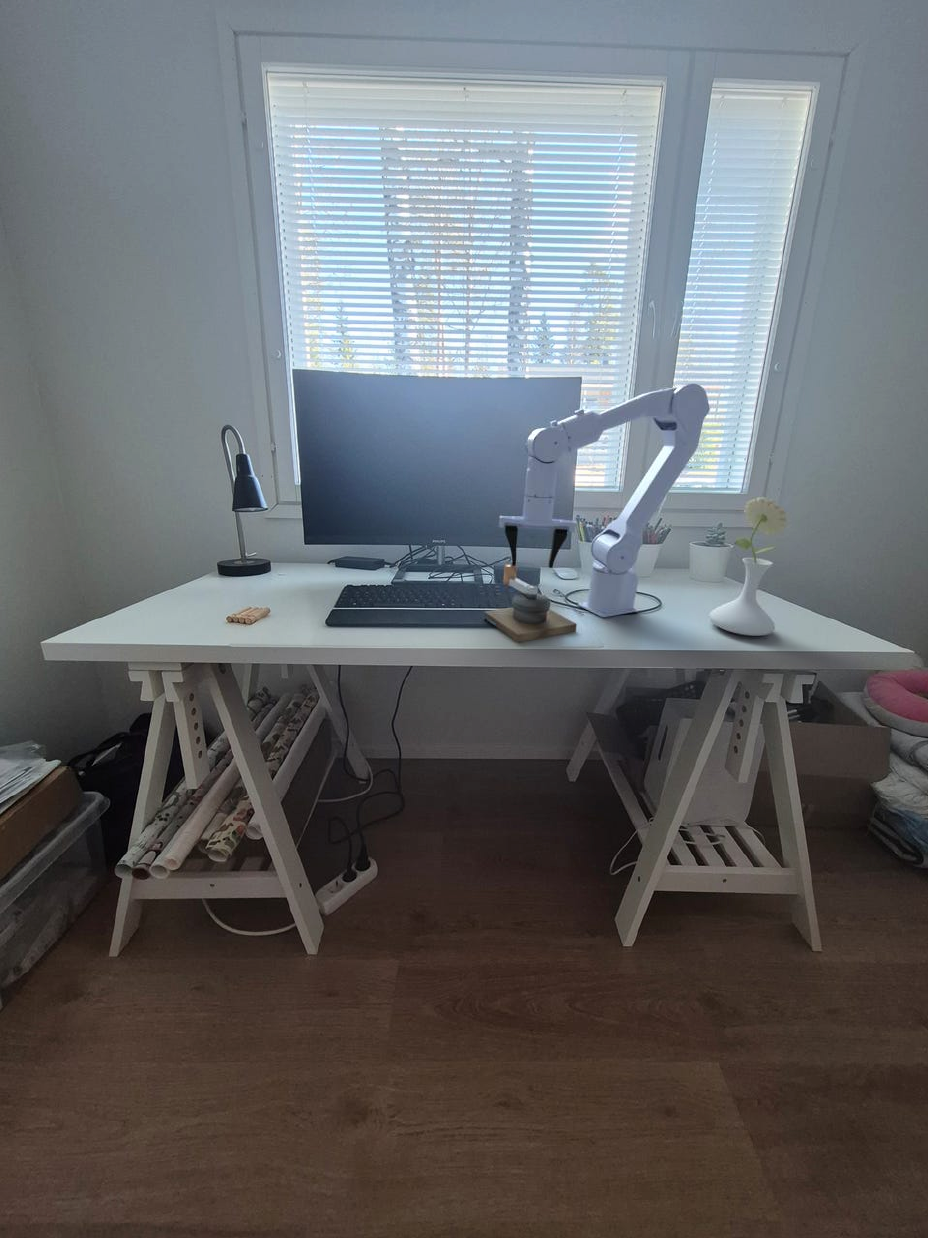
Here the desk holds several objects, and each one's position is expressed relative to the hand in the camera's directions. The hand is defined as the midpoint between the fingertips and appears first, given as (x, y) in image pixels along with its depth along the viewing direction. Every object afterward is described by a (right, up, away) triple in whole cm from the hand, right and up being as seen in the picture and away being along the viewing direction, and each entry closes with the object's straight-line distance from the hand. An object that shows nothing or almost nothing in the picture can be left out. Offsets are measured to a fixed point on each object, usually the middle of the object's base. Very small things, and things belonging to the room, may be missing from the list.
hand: (532, 565), depth 94 cm
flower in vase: (+40, -13, -1) cm, 42 cm away
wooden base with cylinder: (-1, -12, -4) cm, 13 cm away
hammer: (-3, -5, -3) cm, 7 cm away
